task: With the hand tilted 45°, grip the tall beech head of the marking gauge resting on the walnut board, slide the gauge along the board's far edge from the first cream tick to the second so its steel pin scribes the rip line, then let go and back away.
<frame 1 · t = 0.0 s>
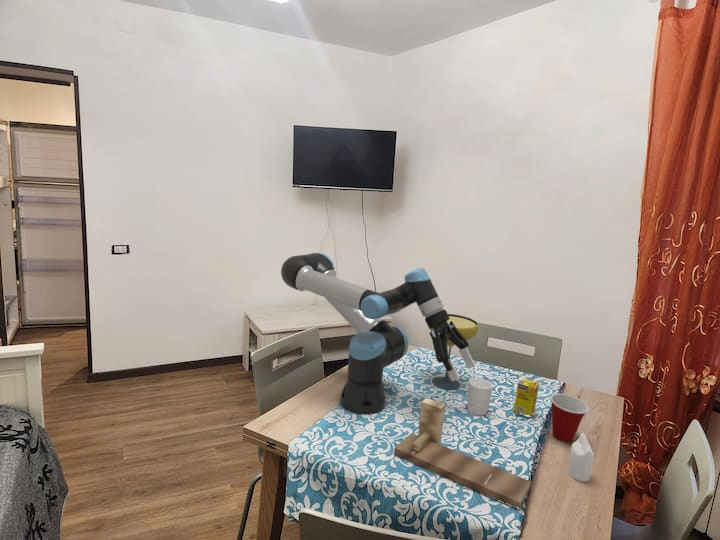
hand: (464, 373, 146), 15 cm above the table, tool tilted 35°, fingers open, 13 cm apart
white cup: (476, 411, 154), on the table
plastic cup: (563, 437, 141), on the table
cocktail glass: (445, 383, 174), on the table
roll: (578, 475, 122), on the table
supplement box: (523, 413, 155), on the table
walnut board: (459, 470, 120), on the table
marking gauge: (425, 428, 127), point 6 cm above the table, slide at -12.0 cm
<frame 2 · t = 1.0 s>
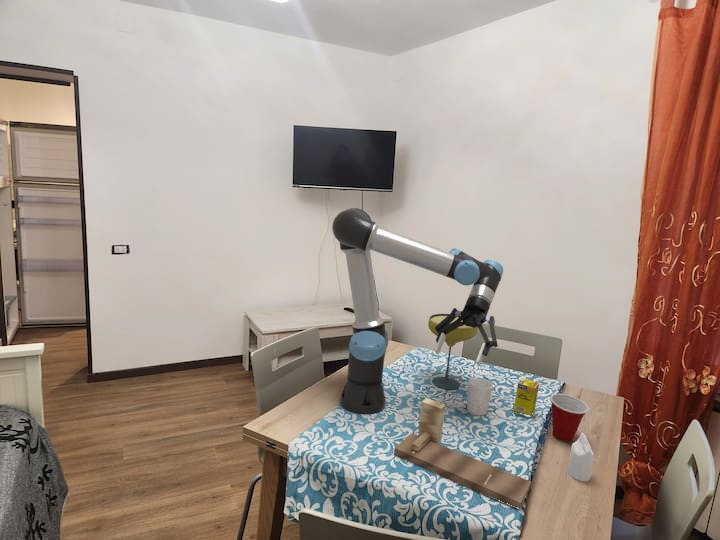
hand: (456, 357, 140), 22 cm above the table, tool tilted 45°, fingers open, 13 cm apart
nothing on the table moved.
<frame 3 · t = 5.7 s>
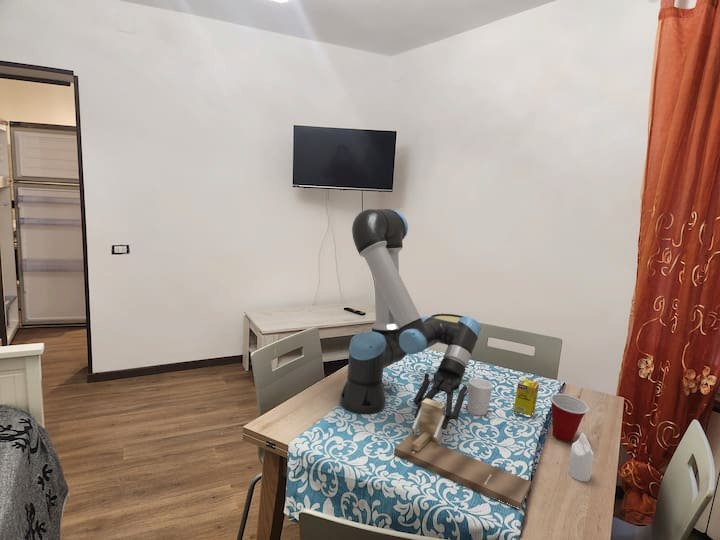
hand: (425, 434, 128), 4 cm above the table, tool tilted 45°, fingers closed on marking gauge, 6 cm apart
marking gauge: (425, 428, 127), point 6 cm above the table, slide at -12.0 cm, touching gripper
everything else where it was.
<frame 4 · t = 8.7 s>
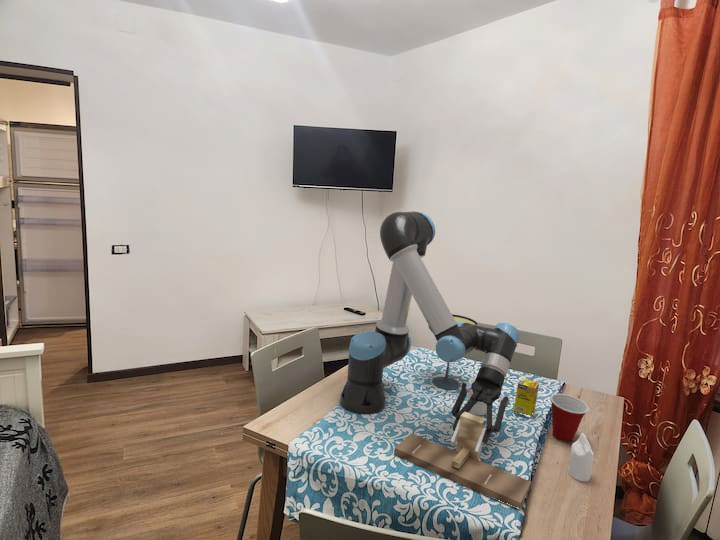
hand: (465, 447, 122), 5 cm above the table, tool tilted 45°, fingers closed on marking gauge, 6 cm apart
marking gauge: (464, 443, 121), point 6 cm above the table, slide at -0.3 cm, touching gripper
everything else where it was.
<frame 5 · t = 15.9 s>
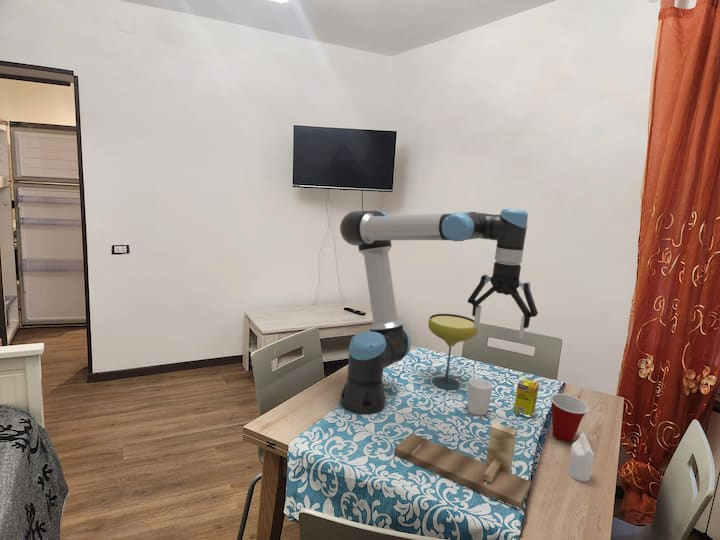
hand: (498, 332, 136), 32 cm above the table, tool pointing down, fingers open, 13 cm apart
marking gauge: (496, 455, 117), point 7 cm above the table, slide at 8.2 cm
everything else where it was.
at the end: marking gauge slide at 8.2 cm; the gripper is holding nothing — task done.
